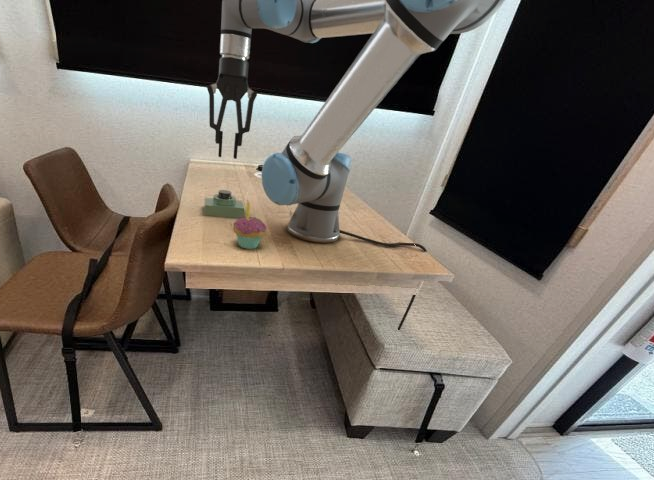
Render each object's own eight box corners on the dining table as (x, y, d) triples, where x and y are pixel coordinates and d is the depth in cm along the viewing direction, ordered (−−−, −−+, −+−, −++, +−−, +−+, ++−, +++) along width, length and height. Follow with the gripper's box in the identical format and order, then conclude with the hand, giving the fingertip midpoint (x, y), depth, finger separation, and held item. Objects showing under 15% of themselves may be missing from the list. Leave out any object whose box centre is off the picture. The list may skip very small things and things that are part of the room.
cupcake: (250, 254, 79) (256, 205, 73) (224, 243, 83) (227, 196, 77) (270, 246, 85) (277, 200, 79) (245, 236, 89) (250, 191, 83)
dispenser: (241, 210, 108) (242, 195, 106) (243, 218, 102) (245, 202, 99) (204, 207, 106) (205, 191, 104) (204, 215, 100) (205, 198, 97)
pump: (230, 197, 104) (231, 190, 103) (231, 200, 100) (231, 194, 99) (217, 196, 103) (218, 189, 102) (218, 199, 100) (218, 192, 99)
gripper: (264, 64, 88) (254, 158, 100) (201, 54, 85) (198, 151, 97) (269, 62, 81) (257, 162, 94) (200, 51, 78) (198, 156, 91)
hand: (227, 156), depth 95 cm, fingers open, 4 cm apart
